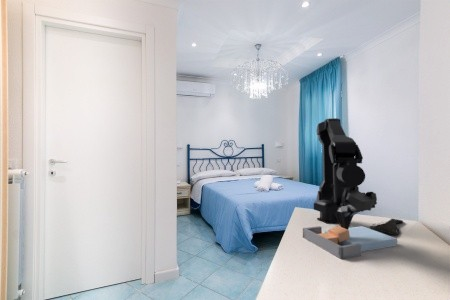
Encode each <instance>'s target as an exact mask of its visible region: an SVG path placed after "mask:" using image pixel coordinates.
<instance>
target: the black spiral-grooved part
mask: <svg viewBox="0 0 450 300" xmlns="http://www.w3.org/2000/svg"><path fill="white" fill-rule="evenodd" d="M401 222H402V224H403V223H404V220H401V219H396V218H390V219H389V220H388V221H385V222H382V223H381V222H378V223H376V224H375V223H372V225H371V226H369V229H372V230H374V231H377V232H380V233H384V234H385V233H386V234H390V235H395V236H399V235H400V234H401V231H400V227H399V226H398V225H397V224H398V223H401Z"/></svg>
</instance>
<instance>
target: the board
mask: <svg viewBox="0 0 450 300" xmlns="http://www.w3.org/2000/svg"><path fill="white" fill-rule="evenodd" d="M348 230H349V235H350V238H349V239H346V240H344V241H342V242H338V243H340V244H342V245H351V244H357V243H359V244H361V252H365V251H372V250H377V249H383V248H389V247H393V246H394V247H395V246H398V238H396V237H393V236H390V235H388V234H387V233H386V234H385V233H384V232H381V231H376V230H372V229H370V227H369V228H368V227H365V226H362V225H360V226H354V227H349V229H348ZM324 233H329V232H328V230H324Z"/></svg>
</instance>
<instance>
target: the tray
mask: <svg viewBox="0 0 450 300" xmlns="http://www.w3.org/2000/svg"><path fill="white" fill-rule="evenodd" d="M322 228H323V227H322V226H321V225H319V226H318V225H317V226H310V227H302V238H304V239H305V240H307V241H308V242H310V243H312V244H314V245H315V246H318V247H319V248H321V249H322V250H325V251H326V252H328V253H330V254H331V255H333V256H335V257H337V258H338V259H340V260H344V259H349V258H355V257H360V256H362V251H361V244H359V243H357V244H351V245H342V244H340V243H338V244H336V243H334V242H332V241H330V240H328V239H326V238H324V237H322V236H320V235H318V234H321V233H323V230H322Z"/></svg>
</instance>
